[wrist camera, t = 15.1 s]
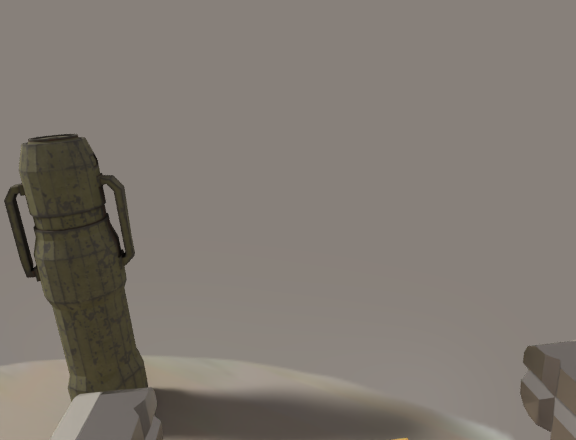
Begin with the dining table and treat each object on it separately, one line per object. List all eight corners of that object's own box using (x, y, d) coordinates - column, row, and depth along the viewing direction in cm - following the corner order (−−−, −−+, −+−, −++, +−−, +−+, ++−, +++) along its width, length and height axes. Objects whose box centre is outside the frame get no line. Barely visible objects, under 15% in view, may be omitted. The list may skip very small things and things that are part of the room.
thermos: (166, 417, 54) (114, 133, 43) (62, 451, 50) (-24, 147, 39) (159, 376, 61) (113, 128, 51) (68, 402, 57) (-1, 139, 47)
